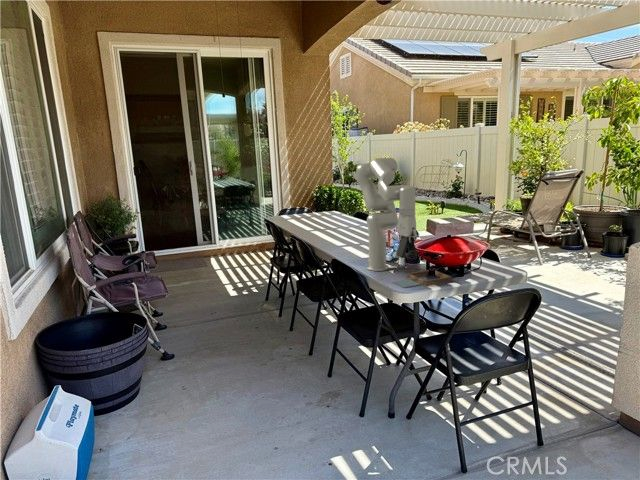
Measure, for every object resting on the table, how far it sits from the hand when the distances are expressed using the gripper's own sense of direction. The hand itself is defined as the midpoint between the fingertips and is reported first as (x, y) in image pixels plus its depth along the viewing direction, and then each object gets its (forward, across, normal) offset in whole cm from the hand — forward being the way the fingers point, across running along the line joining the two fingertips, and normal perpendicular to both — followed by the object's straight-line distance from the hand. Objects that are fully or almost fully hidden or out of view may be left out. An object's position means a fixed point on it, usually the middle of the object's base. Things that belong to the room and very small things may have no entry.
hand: (407, 248), depth 217 cm
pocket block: (+18, 0, +14) cm, 23 cm away
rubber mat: (+18, 0, 0) cm, 18 cm away
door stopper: (+4, 0, 0) cm, 4 cm away
